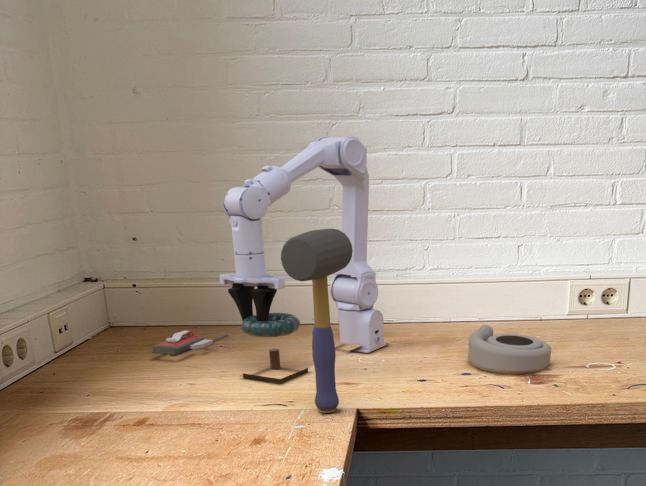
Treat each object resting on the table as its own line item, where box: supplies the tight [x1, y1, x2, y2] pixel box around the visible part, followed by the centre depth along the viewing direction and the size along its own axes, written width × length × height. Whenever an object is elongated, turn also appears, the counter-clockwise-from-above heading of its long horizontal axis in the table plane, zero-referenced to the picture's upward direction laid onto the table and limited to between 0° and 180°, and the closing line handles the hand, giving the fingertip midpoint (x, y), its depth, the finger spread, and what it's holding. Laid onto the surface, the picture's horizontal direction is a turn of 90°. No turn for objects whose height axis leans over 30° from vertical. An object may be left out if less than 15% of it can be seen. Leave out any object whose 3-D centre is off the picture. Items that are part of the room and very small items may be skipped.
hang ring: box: [240, 312, 301, 338], centre depth 154 cm, size 11×11×3 cm
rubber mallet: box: [280, 228, 353, 414], centre depth 130 cm, size 12×8×30 cm, turn 157°
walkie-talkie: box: [151, 330, 229, 357], centre depth 177 cm, size 9×4×20 cm
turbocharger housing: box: [467, 324, 552, 375], centre depth 159 cm, size 17×6×15 cm
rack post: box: [242, 348, 309, 385], centre depth 156 cm, size 9×9×5 cm
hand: (255, 323), depth 156 cm, fingers closed on hang ring, 3 cm apart
